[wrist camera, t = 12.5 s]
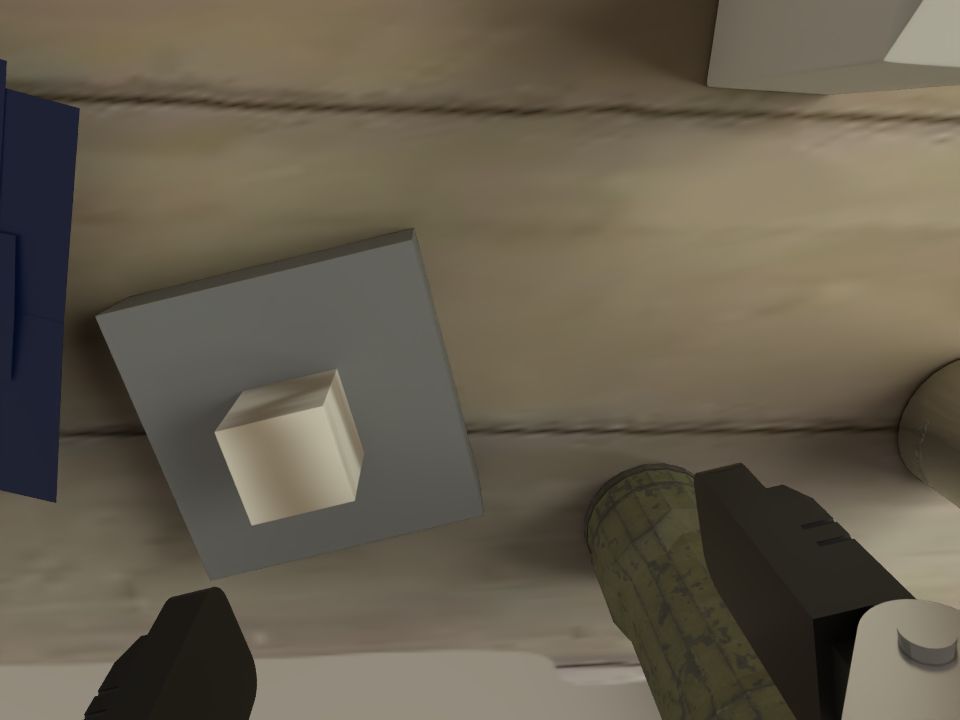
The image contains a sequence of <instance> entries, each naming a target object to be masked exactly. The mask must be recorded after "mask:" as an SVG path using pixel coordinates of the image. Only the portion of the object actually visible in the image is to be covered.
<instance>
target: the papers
mask: <svg viewBox="0 0 960 720" xmlns="http://www.w3.org/2000/svg"><path fill="white" fill-rule="evenodd" d="M6 65H7V61H5V60H2V59H0V490H2V491H7V492H11V493H15V494H20V495H24V496H28V497H33V498H37V499H42V500H46V501H50V502H55V503H56V496H57V472H58V448H59V424H60V400H61V376H62V353H63V329H64V313H65V299H66V286H67V272H68V259H69V245H70V232H71V218H72V205H73V191H74V177H75V164H76V150H77V137H78V123H79V110H80V108H76V107H72V106H69V105H65V104H61V103H58V102H54V101H50V100H46V99H43V98H39V97H35V96H32V95H28V94H24V93H21V92H17V91H13V90H10V89H6V88H5V83H6Z"/></svg>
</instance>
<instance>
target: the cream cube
mask: <svg viewBox="0 0 960 720" xmlns="http://www.w3.org/2000/svg"><path fill="white" fill-rule="evenodd" d="M214 433H215V435H216V438H217V440H218V443H219V445H220V448H221V450H222V453H223V455H224V458H225V460H226V463H227V465H228V468H229V470H230V473H231V475H232V478H233V480H234V483H235V485H236V488H237V490H238V493H239V495H240V498H241V500H242V503H243V505H244V508H245V510H246V513H247V515H248V518H249V520H250V523H251V525H256V524H261V523H265V522H269V521H273V520H277V519H281V518H286V517H290V516H294V515H298V514H302V513H306V512H311V511H315V510H319V509H323V508H327V507H331V506H336V505H340V504H344V503H348V502H352V501H355V497H356V492H357V487H358V481H359V476H360V471H361V466H362V461H363V456H364V451H363V448H362V445H361V442H360V438H359V435H358V432H357V429H356V426H355V423H354V420H353V417H352V414H351V410H350V407H349V404H348V401H347V398H346V395H345V392H344V389H343V386H342V383H341V379H340V376H339V373H338V370H337V369H333V370H328V371H324V372H320V373H316V374H312V375H308V376H304V377H300V378H295V379H291V380H287V381H283V382H279V383H275V384H271V385H266V386H262V387H258V388H254V389H250V390H246V391H243V392H242V393H241V395H240V396H239V398H238V399H237V400H236V402H235V403H234V405H233V406H232V408H231V409H230V410H229V412H228V413H227V415H226V416H225V418H224V419H223V420H222V422H221V423H220V425H219V426H218V428H217V429H216V430H215V432H214Z"/></svg>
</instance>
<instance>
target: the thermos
mask: <svg viewBox="0 0 960 720" xmlns="http://www.w3.org/2000/svg"><path fill="white" fill-rule="evenodd" d="M585 539H586V542H587V545H588V547H589V550H590V553H591V562H592V565H593V568H594V570H595V573H596V576H597V579H598V581H599V584H600V587H601V589H602V592H603V595H604V598H605V600H606V603H607V606H608V608H609V611H610V614H611V616H612V619H613V622H614V623H615V624H616V625H617V627H618V628H619V629H620V630H621V631H622V632H623V633H624V634H625V636H626V637H627V638H628V639H629V640H630V641H632V644H633V646H634V649H635V652H636V654H637V657H638V659H639V662H640V664H641V667H642V669H643V672H644V674H645V677H646V680H647V682H648V685H649V687H650V690H651V692H652V695H653V697H654V700H655V703H656V705H657V708H658V710H659V712H660V715H661V718H662V720H797V719H796V718H795V716H794V715H793V713H792V711H791V710H790V708H789V707H788V705H787V703H786V702H785V700H784V698H783V697H782V695H781V694H780V692H779V690H778V689H777V687H776V685H775V684H774V682H773V681H772V679H771V677H770V676H769V674H768V673H767V671H766V669H765V668H764V666H763V664H762V663H761V661H760V660H759V658H758V656H757V655H756V653H755V651H754V650H753V648H752V647H751V645H750V643H749V642H748V640H747V639H746V637H745V635H744V634H743V632H742V630H741V629H740V627H739V626H738V624H737V622H736V621H735V619H734V617H733V616H732V614H731V613H730V611H729V609H728V608H727V606H726V605H725V603H724V601H723V600H722V598H721V596H720V595H719V593H718V592H717V590H716V588H715V586H714V584H713V582H712V579H711V577H710V574H709V571H708V568H707V565H706V561H705V557H704V553H703V546H702V539H701V532H700V525H699V518H698V511H697V504H696V496H695V489H694V475H693V474H692V473H690V472H689V471H687V470H685V469H684V468H680V467H676V466H672V465H668V464H649V465H641V466H638V467H635V468H632V469H629V470H627V471H624V472H622V473H620V474H619V475H617V476H616V477H614V478H613V479H612V480H610V481H609V482H607V483H606V484H605V485H604V486H603V487H602V488H601V490H600V491H599V492H598V493H597V495H596V496H595V497H594V498H593V500H592V501H591V504H590V506H589V509H588V512H587V514H586V517H585Z"/></svg>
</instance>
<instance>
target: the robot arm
mask: <svg viewBox="0 0 960 720" xmlns="http://www.w3.org/2000/svg"><path fill="white" fill-rule="evenodd" d="M898 444H899V451H900V454H901V457H902V459H903V461H904V464H905V465H906V466H907V468H908V469H909V470H910V471H911V473H912V474H914V475H915V476H916V477H918V478H919V479H920V480H922V481H923V482H924V483H926V484H927V485H929V486H930V487H931V488H933V489H934V490H935V491H937V492H938V493H940V494H941V495H942V496H944V497H945V498H946V499H948V500H949V501H950V502H952V503H953V504H955V505H956V506H957V507H958V508H960V360H958V361H956V362H953V363H951V364H949V365H947V366H945V367H944V368H942V369H941V370H939V371H937V372H936V373H934V374H933V375H932V376H931V377H930V378H929V379H927V380H926V381H925V382H924V383H923V384H922V385H921V386H920V387H919V389H918V390H917V391H916V392H915V394H914V395H913V396H912V398H911V399H910V401H909V403H908V405H907V407H906V408H905V410H904V412H903V415H902V419H901V422H900V425H899V434H898ZM694 489H695V496H696V504H697V511H698V518H699V525H700V532H701V539H702V546H703V553H704V557H705V561H706V565H707V568H708V571H709V574H710V577H711V579H712V582H713V584H714V586H715V588H716V590H717V592H718V593H719V595H720V596H721V598H722V600H723V601H724V603H725V605H726V606H727V608H728V609H729V611H730V613H731V614H732V616H733V617H734V619H735V621H736V622H737V624H738V626H739V627H740V629H741V630H742V632H743V634H744V635H745V637H746V639H747V640H748V642H749V643H750V645H751V647H752V648H753V650H754V651H755V653H756V655H757V656H758V658H759V660H760V661H761V663H762V664H763V666H764V668H765V669H766V671H767V673H768V674H769V676H770V677H771V679H772V681H773V682H774V684H775V685H776V687H777V689H778V690H779V692H780V694H781V695H782V697H783V698H784V700H785V702H786V703H787V705H788V707H789V708H790V710H791V711H792V713H793V715H794V716H795V718H796V719H797V720H960V610H957V609H955V608H953V607H950V606H947V605H944V604H940V603H936V602H931V601H925V600H918V599H916V598H915V597H914V596H912V595H911V594H910V593H909V592H908V591H907V590H906V589H905V588H904V587H903V586H902V585H901V584H900V583H899V582H898V581H897V580H896V579H895V578H894V577H893V576H892V575H891V574H890V573H889V572H888V571H887V570H886V569H885V568H884V567H883V566H882V565H881V564H880V563H879V562H878V561H877V560H875V559H874V558H873V557H872V556H871V555H870V554H869V553H868V552H867V551H866V550H865V549H864V548H863V547H862V546H861V545H860V544H859V543H858V542H857V541H856V540H855V539H851V537H850V534H849V533H848V532H847V531H846V530H845V529H844V528H843V527H842V526H841V525H840V524H839V523H837V522H834V521H833V518H832V517H831V516H830V515H829V514H828V513H827V512H826V511H825V510H824V509H823V508H822V507H821V506H820V505H819V504H818V503H817V502H816V501H815V500H814V499H813V498H811V497H809V496H806V495H804V494H802V493H800V492H798V491H796V490H793V489H791V488H789V487H787V486H785V485H779V486H775V487H771V488H765V487H764V486H763V485H762V484H761V483H760V482H759V480H758V479H757V478H756V477H755V476H754V475H753V474H752V473H751V472H750V471H749V470H748V469H747V468H746V466H744V465H743V464H742V463H736V464H732V465H728V466H724V467H720V468H715V469H711V470H707V471H703V472H699V473H696V474H695V475H694ZM256 689H257V676H256V668H255V664H254V660H253V657H252V655H251V652H250V650H249V648H248V645H247V643H246V641H245V638H244V636H243V634H242V631H241V629H240V627H239V625H238V622H237V620H236V618H235V615H234V613H233V611H232V608H231V606H230V604H229V601H228V599H227V597H226V595H225V593H224V592H223V591H222V590H221V589H220V588H218V587H212V588H208V589H204V590H199V591H195V592H191V593H187V594H183V595H178V596H174V597H171V598H169V599H168V600H167V601H166V603H165V604H164V606H163V608H162V610H161V611H160V613H159V615H158V617H157V619H156V620H155V622H154V624H153V626H152V628H151V629H150V631H149V633H148V635H144V636H141V637H140V638H139V639H138V640H137V641H136V642H135V643H134V644H133V645H132V646H131V647H130V648H129V649H128V650H127V651H126V652H125V653H124V654H123V655H122V656H121V657H120V658H119V659H118V660H117V661H116V662H115V663H114V665H113V666H112V668H111V670H110V672H109V673H108V675H107V677H106V678H105V680H104V682H103V683H102V685H101V687H100V688H99V690H98V692H99V694H98V696H95V697H94V699H93V700H92V702H91V704H90V706H89V707H88V709H87V711H86V712H85V714H84V715H85V719H84V720H249V717H250V714H251V711H252V707H253V704H254V701H255V697H256Z"/></svg>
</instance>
